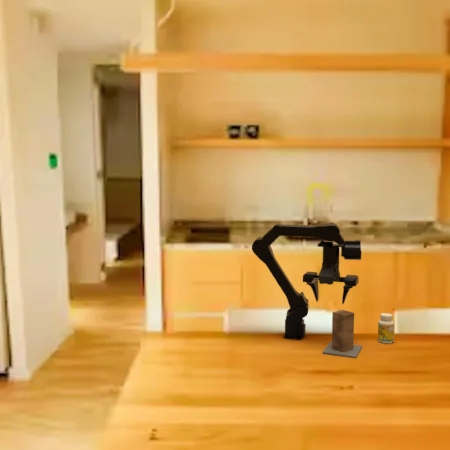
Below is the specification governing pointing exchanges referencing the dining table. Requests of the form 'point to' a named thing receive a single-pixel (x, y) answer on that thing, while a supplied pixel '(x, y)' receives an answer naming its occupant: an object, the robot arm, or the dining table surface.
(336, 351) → the charcoal mat
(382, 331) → the supplement bottle
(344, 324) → the walnut block
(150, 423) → the dining table surface
